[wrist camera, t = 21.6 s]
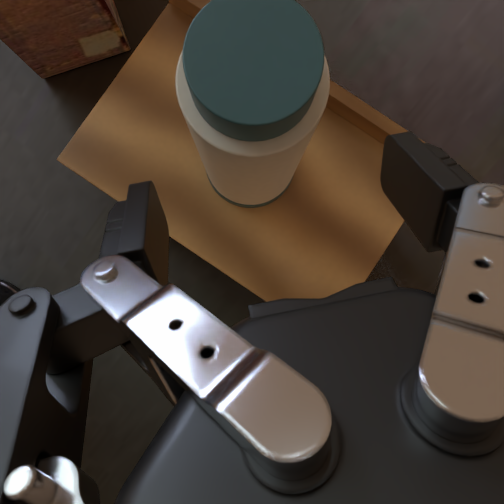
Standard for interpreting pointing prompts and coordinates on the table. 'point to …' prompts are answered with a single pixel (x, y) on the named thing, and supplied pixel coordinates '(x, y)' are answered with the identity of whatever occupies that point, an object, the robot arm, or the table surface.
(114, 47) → the book
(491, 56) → the table surface
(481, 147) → the table surface
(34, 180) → the table surface
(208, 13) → the bottle with teal cap
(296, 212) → the frame
